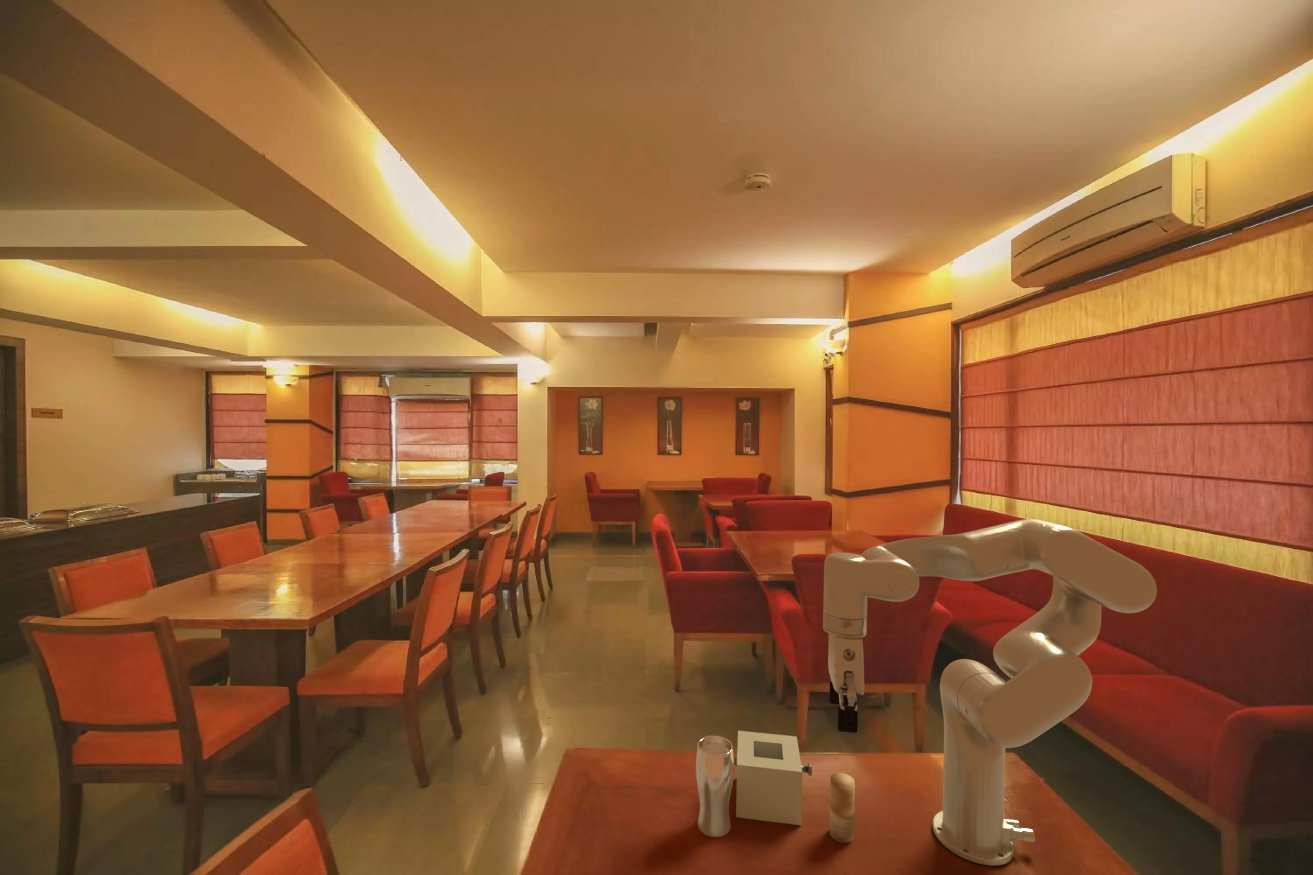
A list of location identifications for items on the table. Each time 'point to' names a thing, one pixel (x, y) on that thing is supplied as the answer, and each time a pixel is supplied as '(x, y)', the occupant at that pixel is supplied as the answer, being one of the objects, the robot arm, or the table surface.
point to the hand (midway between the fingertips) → (842, 716)
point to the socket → (769, 778)
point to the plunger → (807, 769)
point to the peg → (842, 807)
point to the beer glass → (714, 784)
